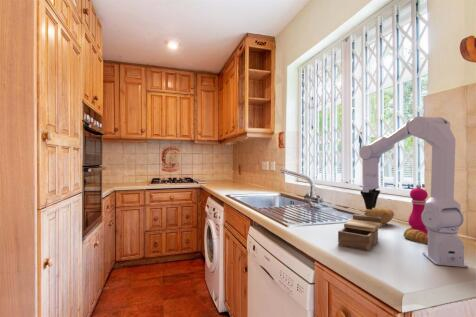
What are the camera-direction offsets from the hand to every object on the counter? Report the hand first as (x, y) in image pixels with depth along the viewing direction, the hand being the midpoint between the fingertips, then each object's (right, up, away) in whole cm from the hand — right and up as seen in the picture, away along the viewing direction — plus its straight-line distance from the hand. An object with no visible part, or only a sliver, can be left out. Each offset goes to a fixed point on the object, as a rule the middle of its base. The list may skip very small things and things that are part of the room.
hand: (370, 208), depth 107 cm
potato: (+12, -11, +16) cm, 22 cm away
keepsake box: (-11, -10, -13) cm, 20 cm away
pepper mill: (+20, -11, +1) cm, 23 cm away
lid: (-7, -5, -8) cm, 12 cm away
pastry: (+14, -11, -8) cm, 19 cm away
